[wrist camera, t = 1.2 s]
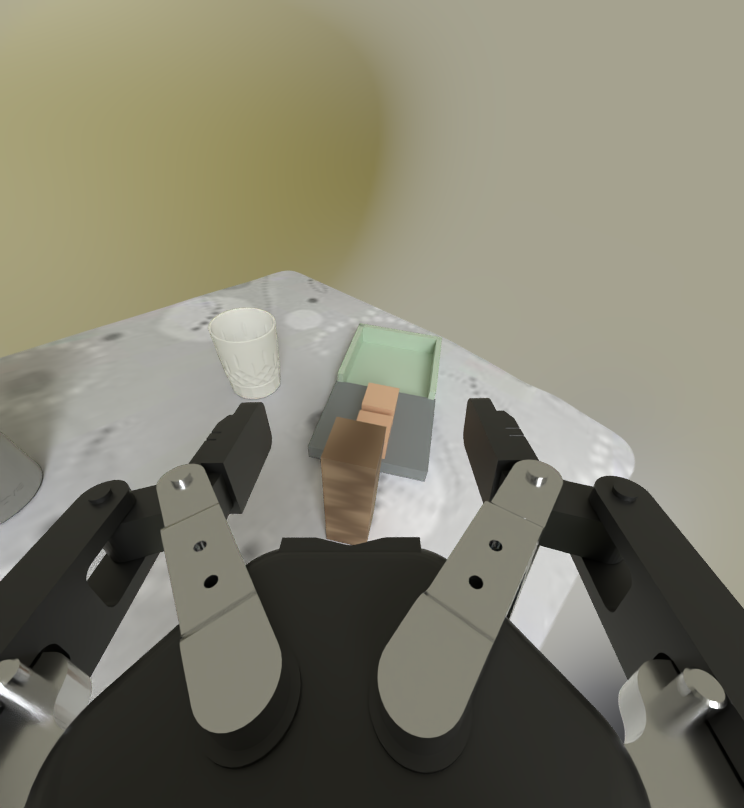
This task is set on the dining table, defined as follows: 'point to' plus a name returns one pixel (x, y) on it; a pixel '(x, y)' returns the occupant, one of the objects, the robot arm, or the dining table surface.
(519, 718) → the robot arm
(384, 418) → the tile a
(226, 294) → the dining table surface
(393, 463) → the plate
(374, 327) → the tray
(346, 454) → the tall wooden post
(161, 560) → the dining table surface
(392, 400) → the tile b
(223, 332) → the white cup
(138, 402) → the dining table surface
